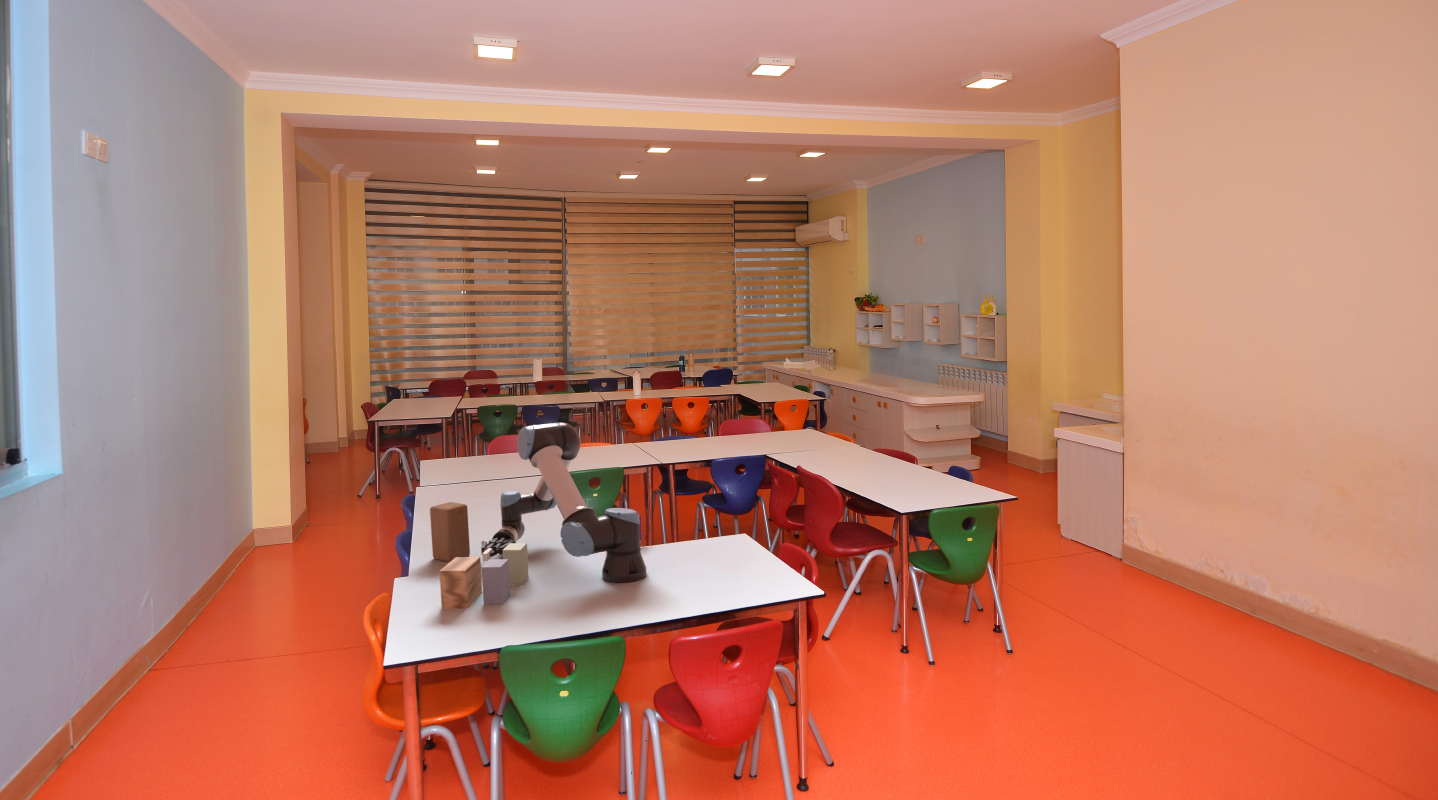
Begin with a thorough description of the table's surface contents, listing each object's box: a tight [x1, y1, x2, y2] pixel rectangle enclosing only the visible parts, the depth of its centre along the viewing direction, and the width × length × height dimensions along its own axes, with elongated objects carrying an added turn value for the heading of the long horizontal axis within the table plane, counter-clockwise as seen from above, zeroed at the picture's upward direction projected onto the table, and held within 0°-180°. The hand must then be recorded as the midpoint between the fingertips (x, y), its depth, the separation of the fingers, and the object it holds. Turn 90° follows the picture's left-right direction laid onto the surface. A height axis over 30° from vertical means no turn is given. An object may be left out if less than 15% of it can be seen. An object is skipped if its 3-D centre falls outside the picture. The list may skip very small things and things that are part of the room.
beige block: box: [502, 542, 530, 586], centre depth 265 cm, size 6×8×12 cm
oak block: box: [439, 556, 483, 610], centre depth 248 cm, size 8×14×12 cm, turn 178°
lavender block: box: [481, 558, 511, 606], centre depth 247 cm, size 6×8×12 cm
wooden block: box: [429, 501, 471, 563], centre depth 294 cm, size 10×10×20 cm
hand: (484, 557), depth 271 cm, fingers closed
